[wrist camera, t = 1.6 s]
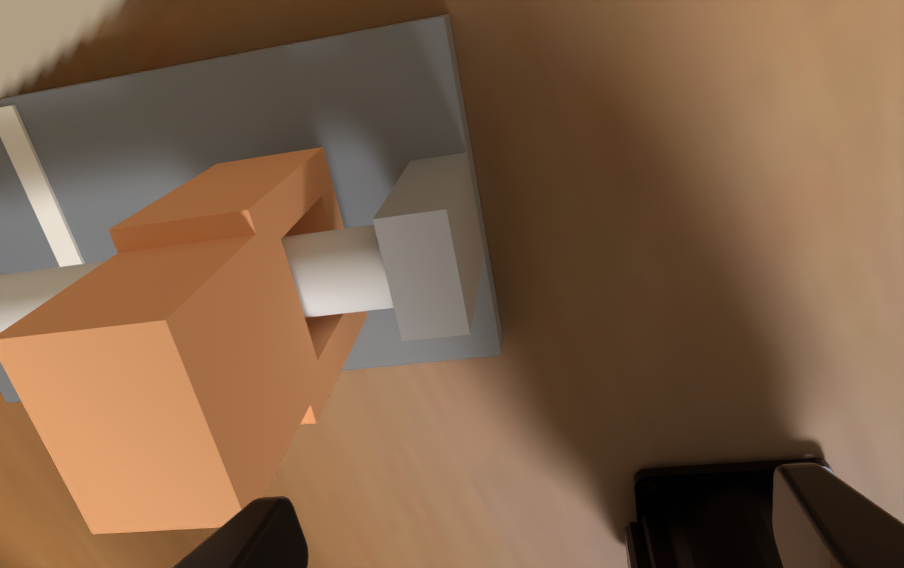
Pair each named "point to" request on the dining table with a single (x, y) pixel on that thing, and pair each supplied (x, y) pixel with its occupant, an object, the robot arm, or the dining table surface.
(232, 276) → the collar
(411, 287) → the rail stand
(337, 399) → the dining table surface
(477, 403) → the dining table surface
